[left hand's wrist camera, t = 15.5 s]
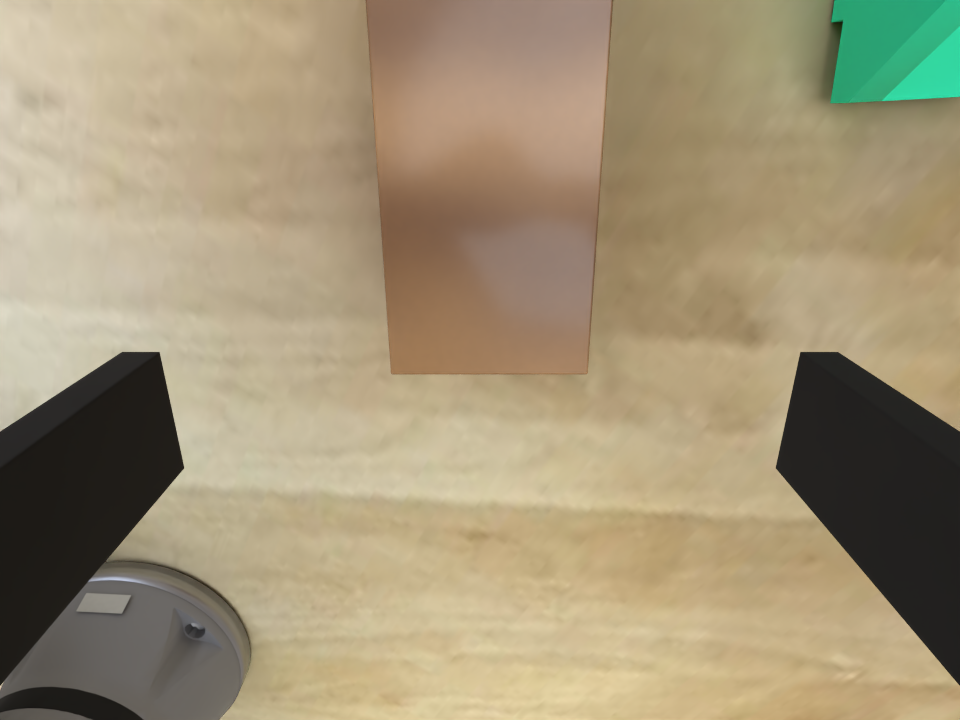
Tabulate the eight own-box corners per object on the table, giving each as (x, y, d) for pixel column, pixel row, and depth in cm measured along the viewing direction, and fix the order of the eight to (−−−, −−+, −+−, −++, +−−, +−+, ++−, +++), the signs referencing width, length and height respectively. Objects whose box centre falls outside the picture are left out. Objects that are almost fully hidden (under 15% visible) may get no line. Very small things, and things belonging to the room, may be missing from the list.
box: (556, 291, 35) (587, 374, 24) (421, 292, 35) (390, 374, 24) (577, -187, 26) (640, -398, 15) (400, -184, 26) (338, -393, 15)
